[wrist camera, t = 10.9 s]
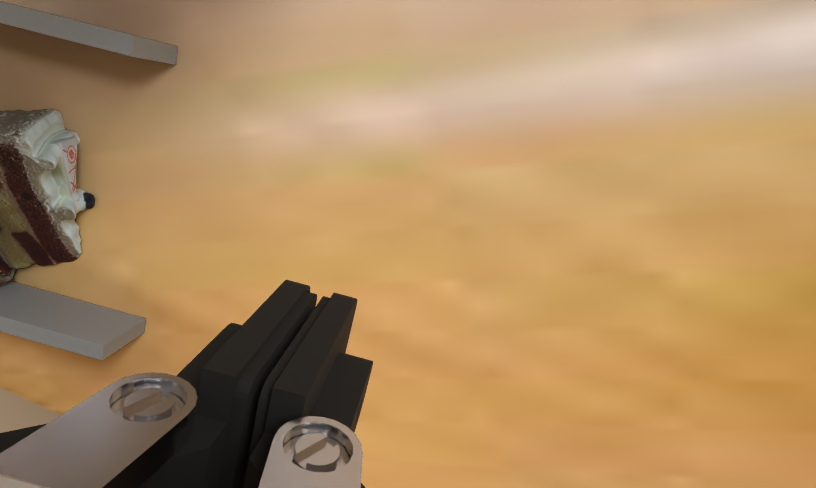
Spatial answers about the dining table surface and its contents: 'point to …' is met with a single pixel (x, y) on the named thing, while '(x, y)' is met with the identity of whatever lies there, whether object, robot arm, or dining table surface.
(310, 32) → the dining table surface
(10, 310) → the box
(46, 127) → the chocolate cake
